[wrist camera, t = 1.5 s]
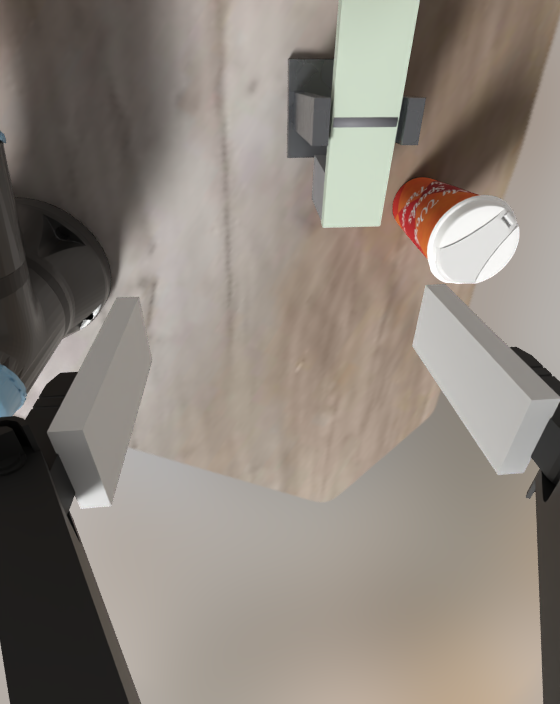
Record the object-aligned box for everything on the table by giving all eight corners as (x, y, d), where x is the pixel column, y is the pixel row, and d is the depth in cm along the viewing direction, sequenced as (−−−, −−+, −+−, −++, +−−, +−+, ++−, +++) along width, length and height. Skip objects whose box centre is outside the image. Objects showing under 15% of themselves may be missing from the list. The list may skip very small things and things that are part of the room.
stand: (287, 156, 41) (304, 182, 31) (288, 59, 37) (308, 53, 27) (373, 155, 42) (417, 180, 32) (385, 59, 38) (440, 54, 28)
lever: (310, 198, 40) (324, 231, 34) (330, -124, 27) (358, -161, 21) (360, 197, 41) (382, 229, 35) (404, -121, 27) (452, -157, 21)
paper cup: (422, 149, 42) (493, 177, 31) (464, 198, 46) (542, 240, 34) (367, 209, 45) (413, 255, 34) (410, 251, 48) (465, 306, 37)
